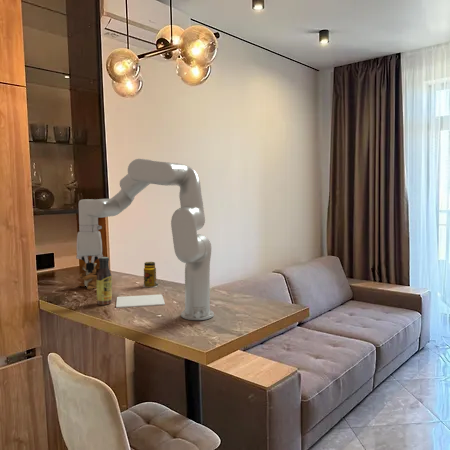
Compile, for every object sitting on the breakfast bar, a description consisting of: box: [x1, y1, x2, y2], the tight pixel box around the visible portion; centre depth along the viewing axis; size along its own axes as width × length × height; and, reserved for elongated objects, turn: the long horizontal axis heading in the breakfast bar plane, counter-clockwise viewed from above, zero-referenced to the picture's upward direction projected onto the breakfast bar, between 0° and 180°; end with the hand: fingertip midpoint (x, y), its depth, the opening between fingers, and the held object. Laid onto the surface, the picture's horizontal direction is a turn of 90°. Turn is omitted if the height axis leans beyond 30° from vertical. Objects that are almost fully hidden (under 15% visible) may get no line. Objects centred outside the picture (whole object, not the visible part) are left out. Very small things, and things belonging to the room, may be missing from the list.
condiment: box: [142, 261, 160, 288], centre depth 213 cm, size 7×8×12 cm
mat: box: [115, 293, 166, 309], centre depth 184 cm, size 16×20×1 cm
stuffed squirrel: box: [78, 260, 100, 290], centre depth 212 cm, size 10×14×13 cm
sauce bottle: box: [96, 256, 113, 306], centre depth 180 cm, size 7×6×20 cm
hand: (90, 272), depth 178 cm, fingers closed
